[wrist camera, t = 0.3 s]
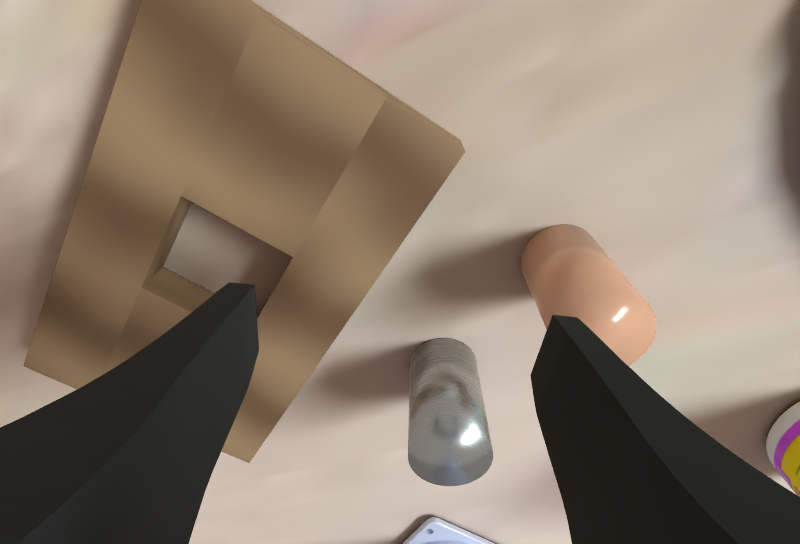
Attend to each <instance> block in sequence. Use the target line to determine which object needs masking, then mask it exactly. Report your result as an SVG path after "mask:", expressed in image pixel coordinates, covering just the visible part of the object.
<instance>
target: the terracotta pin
mask: <svg viewBox="0 0 800 544" xmlns="http://www.w3.org/2000/svg"><path fill="white" fill-rule="evenodd" d="M521 270H522V273H523V276H524V278H525V280H526V282H527V285H528V287H529V289H530V292H531V294H532V296H533V299H534V301H535V303H536V306H537V308H538V310H539V312H540V315H541V317H542V319H543V322H544V324H545V326H546V329H548V326H549V323H550V320H551V318H552V315H560V316H570V317H577V318H579V319H580V320H581V321H582V322H583V323H584V324H585V325H586V326H587V327H588V328H590V329H591V330H592V331H593V332H594V333H595V334H596V335H597V336H598V337H599V338H600V339H601V340H602V341H603V342H604V343H605V344H606V345H607V346H608V347H609V348H610V349H611V350H612V351H613V352H614V353H615V354H616V355H617V356H618V357H619V358H620V359H621V360H622V361H623V362H624V363H625V364H626V365H630V364H632V363H633V362H635V361H636V360H638V359H639V358H640V357H641V356H642V355H643V354H644V353H645V352H646V351H647V350H648V348H649V347H650V345H651V344H652V342H653V339H654V337H655V334H656V327H657V323H656V317H655V314H654V312H653V310H652V308H651V307H650V305H649V304H648V303H647V302H646V301H645V299H644V298H643V297H642V296H641V295H640V293H639V292H638V291H637V290H636V289H635V287H634V286H633V285H632V284H631V283H630V282H629V280H628V279H627V278H626V277H625V276H624V274H623V273H622V272H621V271H620V270H619V268H618V267H617V266H616V265H615V264H614V262H613V261H612V260H611V259H610V258H609V256H608V255H607V254H606V253H605V252H604V250H603V249H602V248H601V247H600V246H599V244H598V243H597V242H596V241H595V240H594V239H593V237H592V236H591V235H590V234H589V233H588V232H587V231H585V230H584V229H582V228H580V227H577V226H573V225H567V224H566V225H555V226H551V227H548V228H546V229H544V230H542V231H540V232H539V233H537V234H536V235H535V236H534V237H532V239H531V240H530V241H529V242H528V243H527V245H526V246H525V248H524V250H523V253H522V256H521Z"/></svg>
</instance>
